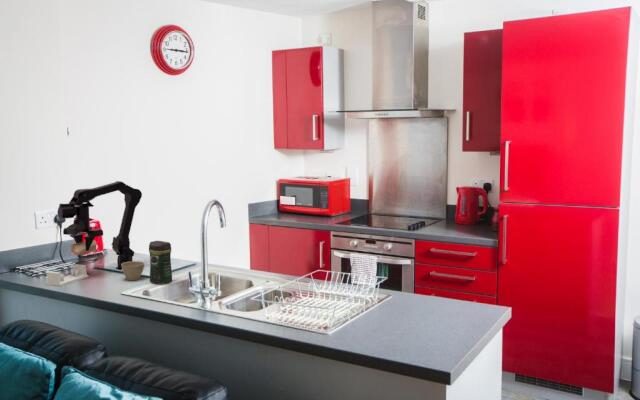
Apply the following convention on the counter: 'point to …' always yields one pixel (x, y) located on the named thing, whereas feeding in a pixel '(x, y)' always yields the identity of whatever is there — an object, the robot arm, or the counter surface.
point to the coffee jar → (160, 262)
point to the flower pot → (132, 269)
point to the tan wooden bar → (82, 248)
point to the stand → (61, 280)
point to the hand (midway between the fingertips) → (83, 250)
